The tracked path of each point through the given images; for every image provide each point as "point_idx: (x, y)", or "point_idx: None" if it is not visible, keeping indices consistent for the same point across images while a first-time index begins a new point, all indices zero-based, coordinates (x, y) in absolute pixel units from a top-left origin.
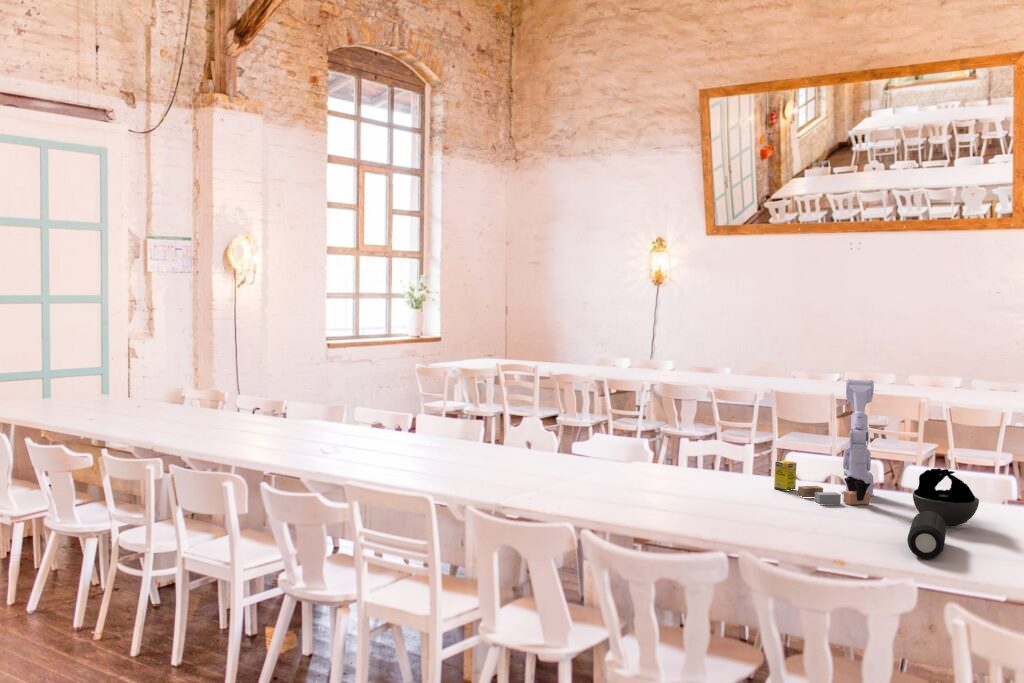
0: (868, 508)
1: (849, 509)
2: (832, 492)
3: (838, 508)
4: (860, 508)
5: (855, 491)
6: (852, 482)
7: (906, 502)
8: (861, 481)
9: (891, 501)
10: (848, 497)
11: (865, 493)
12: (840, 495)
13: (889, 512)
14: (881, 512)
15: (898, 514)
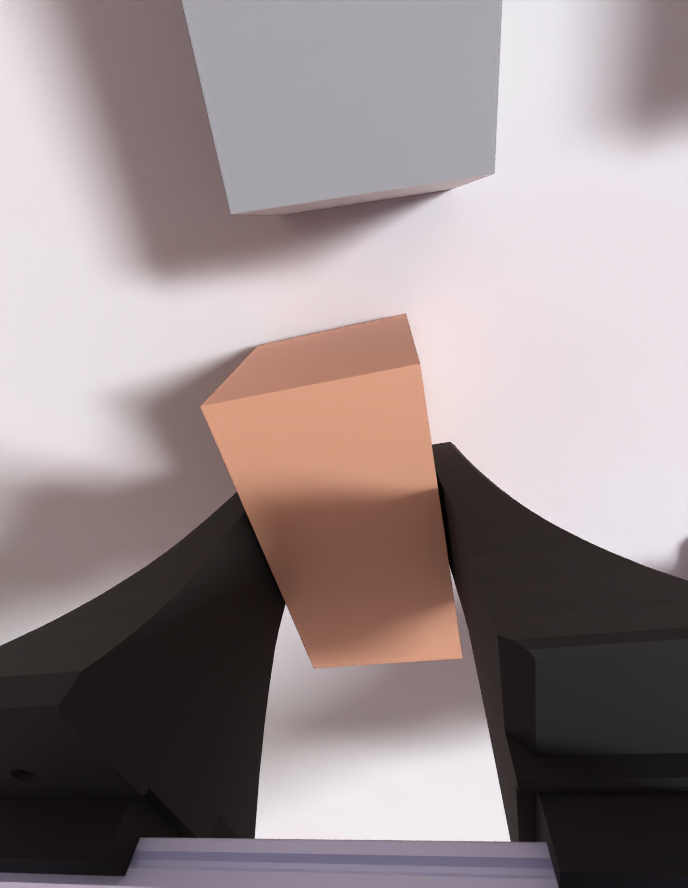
0: (171, 493)
1: (28, 255)
2: (467, 48)
3: (17, 78)
4: (143, 417)
5: (401, 553)
6: (488, 674)
7: (434, 766)
8: (13, 819)
9: (469, 719)
10: (266, 368)
11: (296, 623)
12: (234, 207)
13: (72, 589)
14: (41, 537)
15: (30, 617)
